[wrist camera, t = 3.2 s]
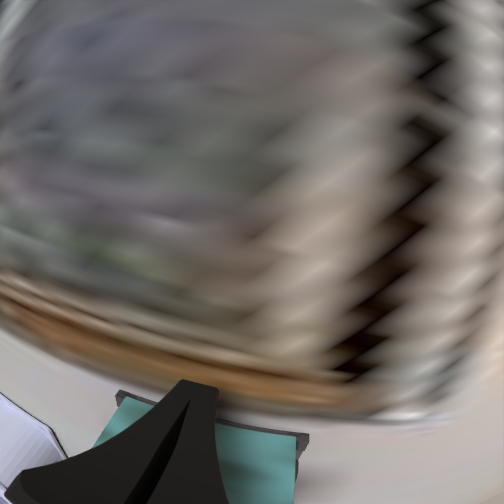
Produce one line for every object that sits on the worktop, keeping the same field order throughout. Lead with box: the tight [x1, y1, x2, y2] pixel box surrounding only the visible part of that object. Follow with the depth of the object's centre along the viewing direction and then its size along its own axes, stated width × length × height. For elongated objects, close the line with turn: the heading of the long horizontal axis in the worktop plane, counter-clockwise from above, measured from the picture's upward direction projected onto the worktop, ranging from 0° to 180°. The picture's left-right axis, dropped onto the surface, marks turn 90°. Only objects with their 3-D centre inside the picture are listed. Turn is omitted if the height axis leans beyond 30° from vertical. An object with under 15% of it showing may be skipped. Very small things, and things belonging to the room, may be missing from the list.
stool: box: [93, 396, 298, 504], centre depth 13 cm, size 11×13×5 cm
